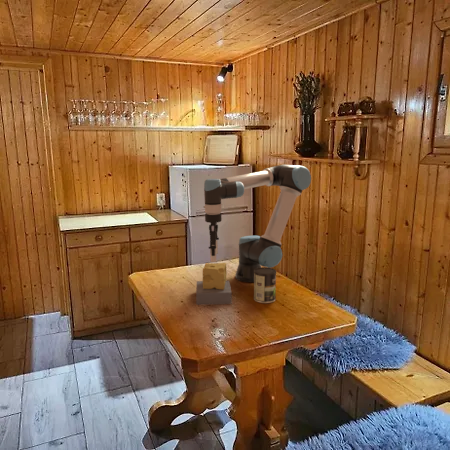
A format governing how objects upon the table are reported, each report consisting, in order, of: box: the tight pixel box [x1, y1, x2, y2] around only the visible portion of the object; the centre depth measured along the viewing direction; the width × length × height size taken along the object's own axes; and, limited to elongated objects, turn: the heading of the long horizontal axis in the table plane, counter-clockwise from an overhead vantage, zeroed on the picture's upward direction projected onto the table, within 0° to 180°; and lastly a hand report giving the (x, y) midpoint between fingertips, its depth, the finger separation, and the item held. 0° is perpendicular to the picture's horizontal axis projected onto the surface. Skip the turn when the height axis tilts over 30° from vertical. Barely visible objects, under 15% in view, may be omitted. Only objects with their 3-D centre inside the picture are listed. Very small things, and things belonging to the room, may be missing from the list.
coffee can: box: [253, 266, 277, 304], centre depth 190 cm, size 10×10×14 cm
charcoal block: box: [195, 280, 233, 305], centre depth 193 cm, size 16×16×6 cm
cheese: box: [202, 262, 227, 290], centre depth 192 cm, size 10×11×10 cm
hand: (214, 257), depth 190 cm, fingers open, 13 cm apart
